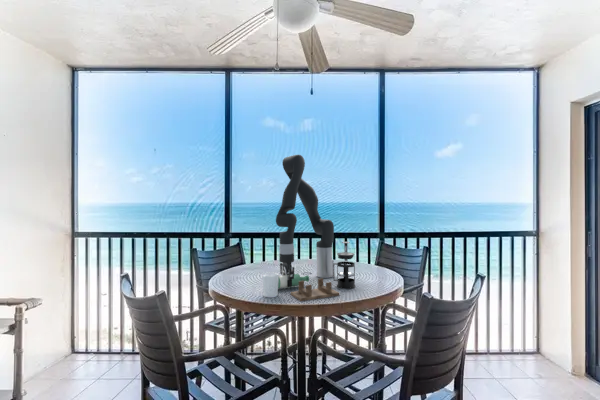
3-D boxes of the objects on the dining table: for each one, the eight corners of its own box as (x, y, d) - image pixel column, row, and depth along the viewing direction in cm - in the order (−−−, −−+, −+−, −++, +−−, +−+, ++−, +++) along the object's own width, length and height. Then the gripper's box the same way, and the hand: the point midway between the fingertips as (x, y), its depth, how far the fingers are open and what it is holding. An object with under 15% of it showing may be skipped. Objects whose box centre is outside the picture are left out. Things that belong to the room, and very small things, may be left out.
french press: (355, 284, 174) (355, 240, 174) (357, 288, 165) (357, 243, 165) (333, 283, 175) (332, 240, 175) (334, 288, 166) (333, 243, 166)
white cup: (262, 293, 158) (262, 272, 158) (278, 292, 159) (278, 272, 159) (261, 298, 150) (261, 276, 150) (279, 297, 151) (278, 276, 151)
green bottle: (305, 281, 176) (305, 270, 174) (310, 286, 170) (311, 275, 169) (270, 285, 167) (270, 274, 166) (274, 291, 162) (275, 279, 161)
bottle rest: (327, 289, 164) (327, 277, 164) (339, 295, 154) (339, 282, 154) (290, 294, 156) (290, 281, 156) (300, 301, 146) (300, 287, 146)
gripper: (299, 253, 162) (299, 287, 162) (288, 249, 175) (288, 281, 176) (285, 255, 159) (285, 289, 159) (274, 251, 172) (275, 283, 172)
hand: (287, 285), depth 167 cm, fingers closed on green bottle, 6 cm apart
